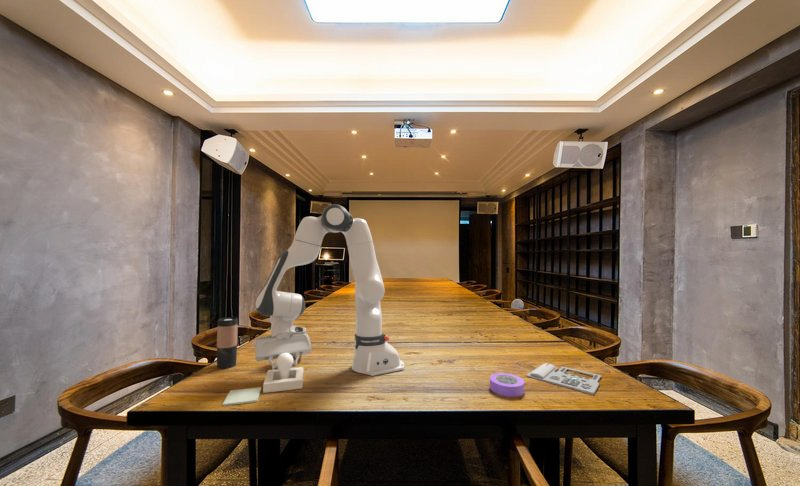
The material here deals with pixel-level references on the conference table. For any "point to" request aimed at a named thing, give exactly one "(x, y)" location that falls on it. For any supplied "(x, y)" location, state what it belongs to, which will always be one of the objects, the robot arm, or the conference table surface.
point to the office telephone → (566, 378)
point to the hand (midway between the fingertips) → (285, 367)
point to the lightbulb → (284, 364)
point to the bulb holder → (283, 380)
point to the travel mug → (227, 342)
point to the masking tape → (507, 384)
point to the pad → (242, 396)
